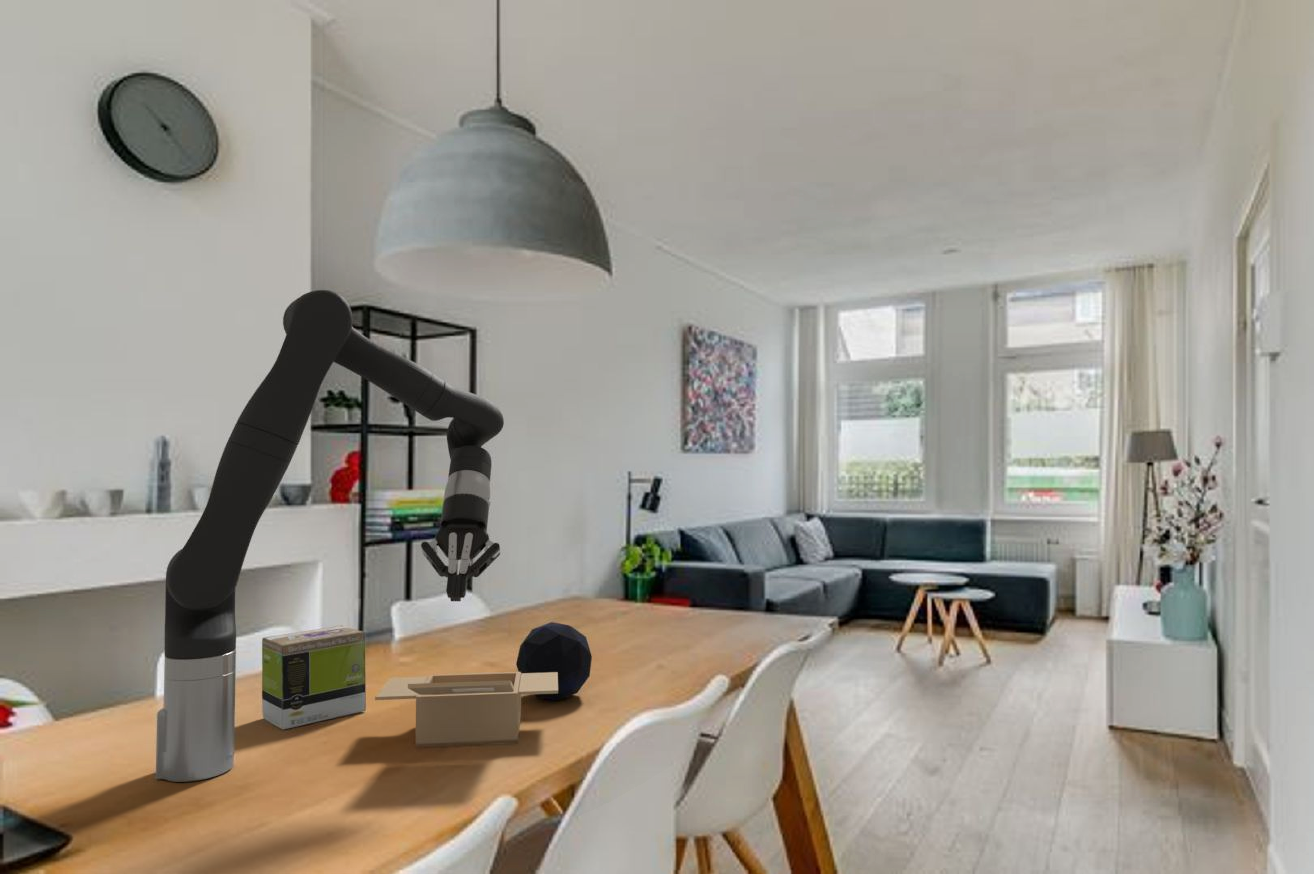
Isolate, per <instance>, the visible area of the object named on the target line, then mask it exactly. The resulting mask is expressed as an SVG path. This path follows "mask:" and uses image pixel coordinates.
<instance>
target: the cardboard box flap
mask: <svg viewBox="0 0 1314 874" xmlns="http://www.w3.org/2000/svg"><path fill="white" fill-rule="evenodd" d="M408 689H410V690H412V691H414V692H416V693H418V694H419V695H426V694H453V693H480V692H508V691H514V686H513V684H512V682H511V680H506V681H478V682H449V683H420V684H408Z"/></svg>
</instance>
